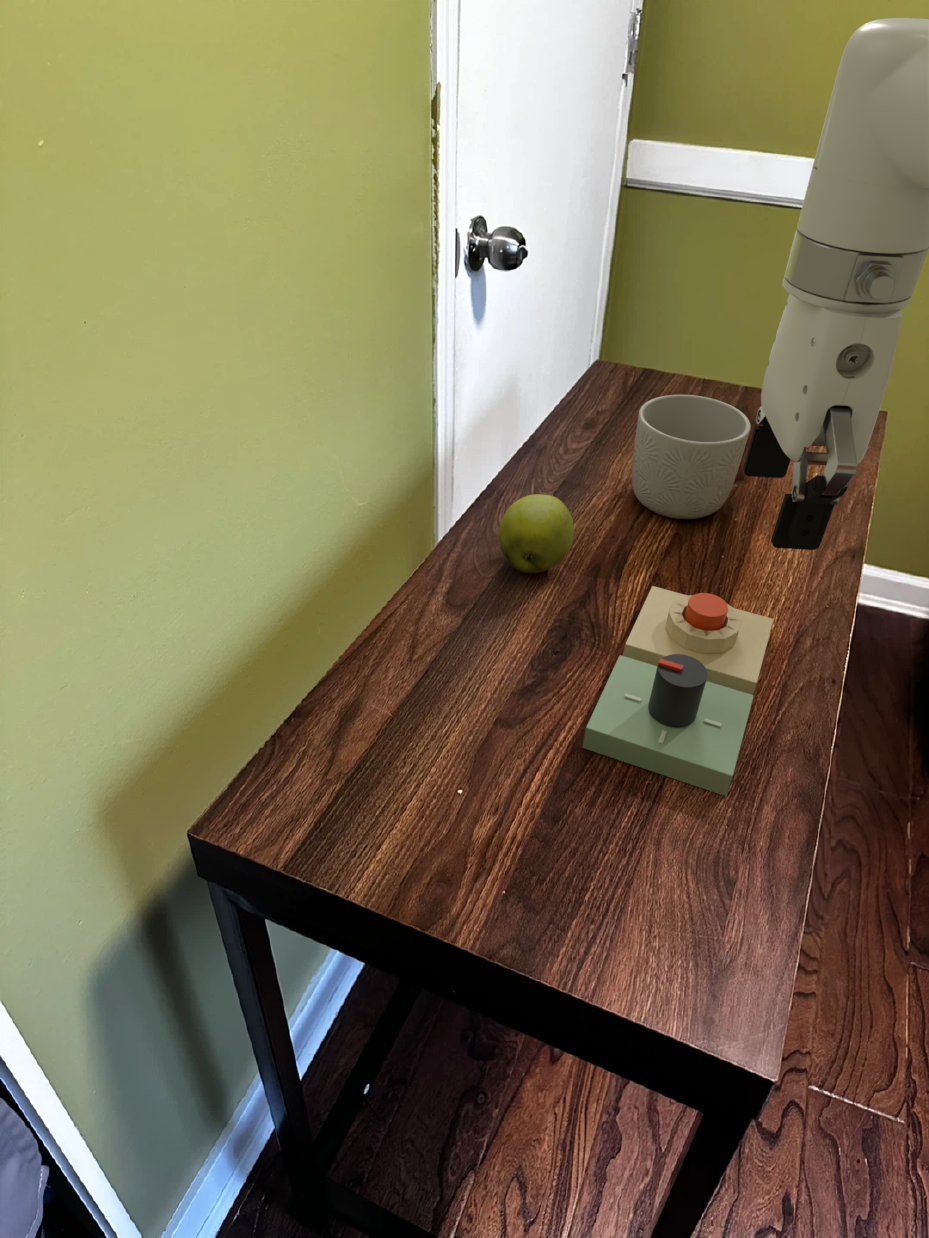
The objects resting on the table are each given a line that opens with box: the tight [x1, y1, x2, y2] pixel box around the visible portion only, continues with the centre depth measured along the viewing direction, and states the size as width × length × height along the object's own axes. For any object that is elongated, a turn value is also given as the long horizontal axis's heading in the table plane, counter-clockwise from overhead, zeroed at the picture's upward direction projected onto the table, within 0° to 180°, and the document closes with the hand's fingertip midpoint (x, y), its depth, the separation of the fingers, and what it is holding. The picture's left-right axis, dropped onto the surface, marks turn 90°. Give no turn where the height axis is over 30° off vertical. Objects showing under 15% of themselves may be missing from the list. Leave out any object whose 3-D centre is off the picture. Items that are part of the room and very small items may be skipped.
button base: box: [622, 585, 774, 695], centre depth 81 cm, size 12×10×4 cm
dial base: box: [582, 654, 755, 797], centre depth 73 cm, size 12×10×3 cm
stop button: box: [685, 592, 729, 631], centre depth 79 cm, size 4×4×2 cm
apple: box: [498, 493, 575, 574], centre depth 90 cm, size 8×9×8 cm
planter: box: [631, 394, 752, 520], centre depth 100 cm, size 12×12×11 cm
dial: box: [648, 654, 708, 728], centre depth 70 cm, size 4×4×5 cm
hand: (777, 508), depth 63 cm, fingers open, 9 cm apart
